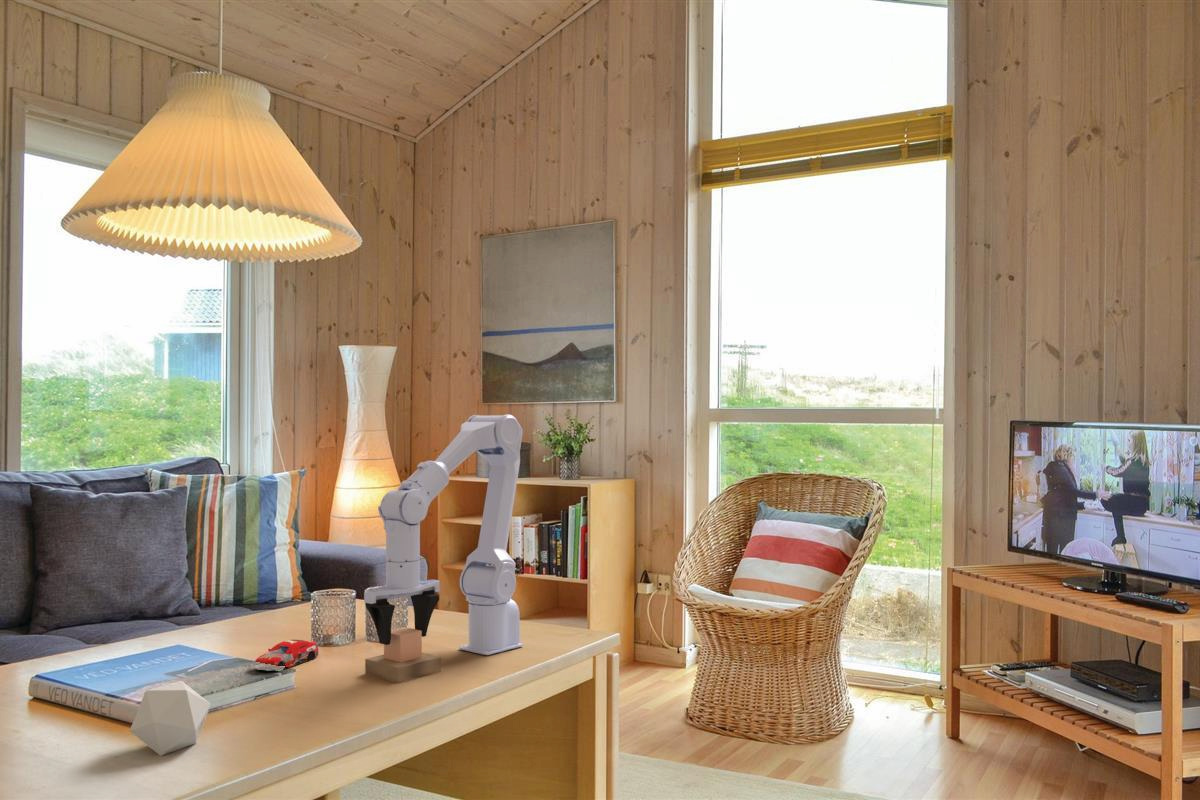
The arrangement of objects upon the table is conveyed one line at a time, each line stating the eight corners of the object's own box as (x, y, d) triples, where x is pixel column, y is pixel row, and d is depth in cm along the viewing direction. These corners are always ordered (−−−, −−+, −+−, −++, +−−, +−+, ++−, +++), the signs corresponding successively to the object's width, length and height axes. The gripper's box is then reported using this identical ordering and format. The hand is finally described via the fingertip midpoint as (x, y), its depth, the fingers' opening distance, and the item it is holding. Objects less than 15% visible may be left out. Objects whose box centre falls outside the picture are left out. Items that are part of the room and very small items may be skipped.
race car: (271, 676, 159) (271, 653, 159) (247, 673, 161) (247, 650, 161) (324, 657, 171) (324, 635, 171) (300, 655, 173) (300, 633, 173)
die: (210, 758, 121) (228, 683, 128) (149, 739, 116) (171, 662, 122) (170, 770, 125) (190, 697, 132) (109, 753, 120) (133, 677, 126)
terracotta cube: (405, 653, 163) (405, 627, 163) (421, 657, 160) (421, 630, 160) (384, 658, 160) (383, 631, 160) (400, 662, 157) (400, 635, 157)
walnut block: (407, 665, 166) (407, 648, 166) (440, 674, 160) (440, 657, 160) (365, 676, 159) (365, 658, 159) (398, 686, 153) (398, 667, 153)
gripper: (421, 553, 168) (421, 628, 168) (353, 562, 157) (353, 643, 157) (447, 556, 164) (447, 634, 163) (378, 566, 153) (378, 650, 152)
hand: (403, 639), depth 160 cm, fingers open, 7 cm apart
